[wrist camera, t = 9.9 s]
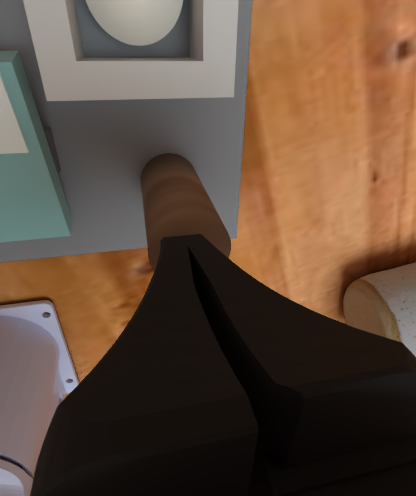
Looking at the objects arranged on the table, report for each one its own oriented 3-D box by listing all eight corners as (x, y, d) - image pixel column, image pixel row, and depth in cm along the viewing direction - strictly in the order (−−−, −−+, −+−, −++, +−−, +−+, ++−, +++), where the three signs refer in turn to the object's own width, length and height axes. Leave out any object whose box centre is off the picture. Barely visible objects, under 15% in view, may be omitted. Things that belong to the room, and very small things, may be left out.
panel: (230, 226, 22) (252, 265, 18) (-40, 252, 19) (-80, 305, 15) (253, -207, 12) (311, -318, 8) (-302, -294, 9) (-602, -529, 5)
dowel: (198, 202, 18) (231, 276, 13) (145, 210, 18) (155, 290, 12) (194, 149, 17) (230, 207, 11) (135, 157, 16) (141, 221, 11)
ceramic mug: (340, 261, 25) (410, 337, 19) (434, 236, 26) (532, 301, 20) (330, 346, 32) (382, 424, 25) (407, 324, 32) (475, 394, 26)
